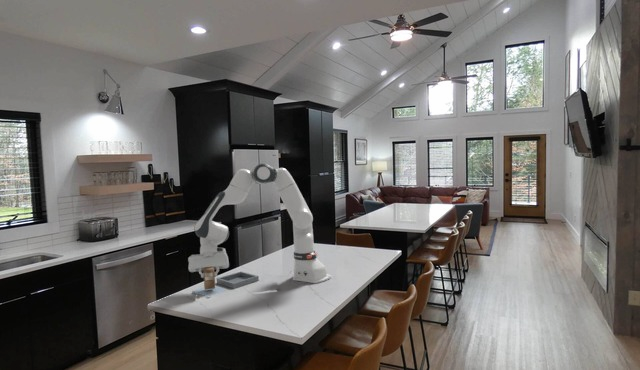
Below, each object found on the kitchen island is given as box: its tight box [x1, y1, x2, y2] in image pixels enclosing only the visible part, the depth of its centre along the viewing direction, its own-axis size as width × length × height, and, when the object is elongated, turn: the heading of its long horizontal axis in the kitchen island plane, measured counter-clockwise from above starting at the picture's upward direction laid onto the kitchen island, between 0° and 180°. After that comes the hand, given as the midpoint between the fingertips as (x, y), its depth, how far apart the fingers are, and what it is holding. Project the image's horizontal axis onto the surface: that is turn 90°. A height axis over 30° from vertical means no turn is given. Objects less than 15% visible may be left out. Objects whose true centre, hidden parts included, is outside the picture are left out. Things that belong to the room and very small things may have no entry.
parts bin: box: [216, 271, 259, 289], centre depth 209 cm, size 16×16×4 cm
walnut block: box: [202, 267, 216, 290], centre depth 196 cm, size 5×5×10 cm
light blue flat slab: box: [192, 285, 228, 299], centre depth 197 cm, size 14×12×1 cm
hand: (209, 276), depth 196 cm, fingers closed on walnut block, 5 cm apart
